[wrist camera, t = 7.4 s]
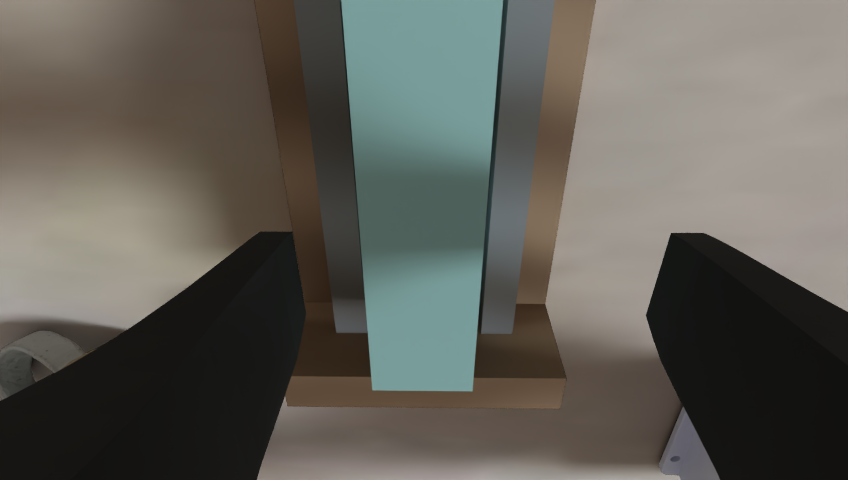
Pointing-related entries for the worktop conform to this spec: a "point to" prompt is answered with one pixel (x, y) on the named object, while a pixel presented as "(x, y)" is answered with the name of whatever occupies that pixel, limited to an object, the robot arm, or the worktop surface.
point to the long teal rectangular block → (422, 180)
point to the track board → (505, 219)
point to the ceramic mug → (13, 363)
